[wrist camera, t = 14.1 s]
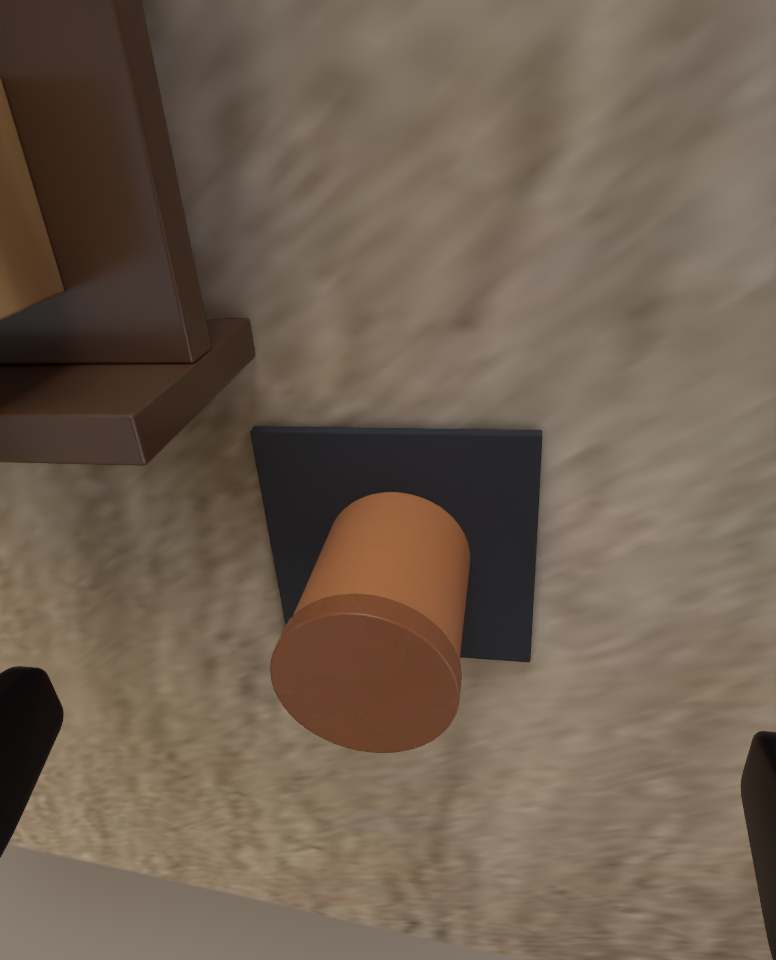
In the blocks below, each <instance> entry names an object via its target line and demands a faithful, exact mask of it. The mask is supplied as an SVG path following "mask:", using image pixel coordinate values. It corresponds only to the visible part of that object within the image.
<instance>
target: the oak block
mask: <svg viewBox="0 0 776 960" xmlns="http://www.w3.org/2000/svg"><path fill="white" fill-rule="evenodd" d="M63 292H64V286H63V283H62V280H61V276H60V273H59V270H58V266H57V263H56V260H55V256H54V253H53V250H52V246H51V243H50V240H49V236H48V233H47V230H46V226H45V223H44V220H43V216H42V213H41V210H40V206H39V203H38V200H37V196H36V193H35V190H34V186H33V183H32V180H31V176H30V173H29V169H28V166H27V163H26V159H25V156H24V153H23V149H22V146H21V143H20V139H19V136H18V133H17V129H16V126H15V123H14V119H13V116H12V113H11V109H10V106H9V103H8V99H7V96H6V93H5V89H4V86H3V83H2V80H1V78H0V320H2V319H4V318H6V317H9V316H11V315H13V314H16V313H18V312H20V311H22V310H25V309H27V308H29V307H32V306H34V305H36V304H39V303H41V302H43V301H45V300H48V299H50V298H52V297H55V296H57V295H59V294H61V293H63Z"/></svg>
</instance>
